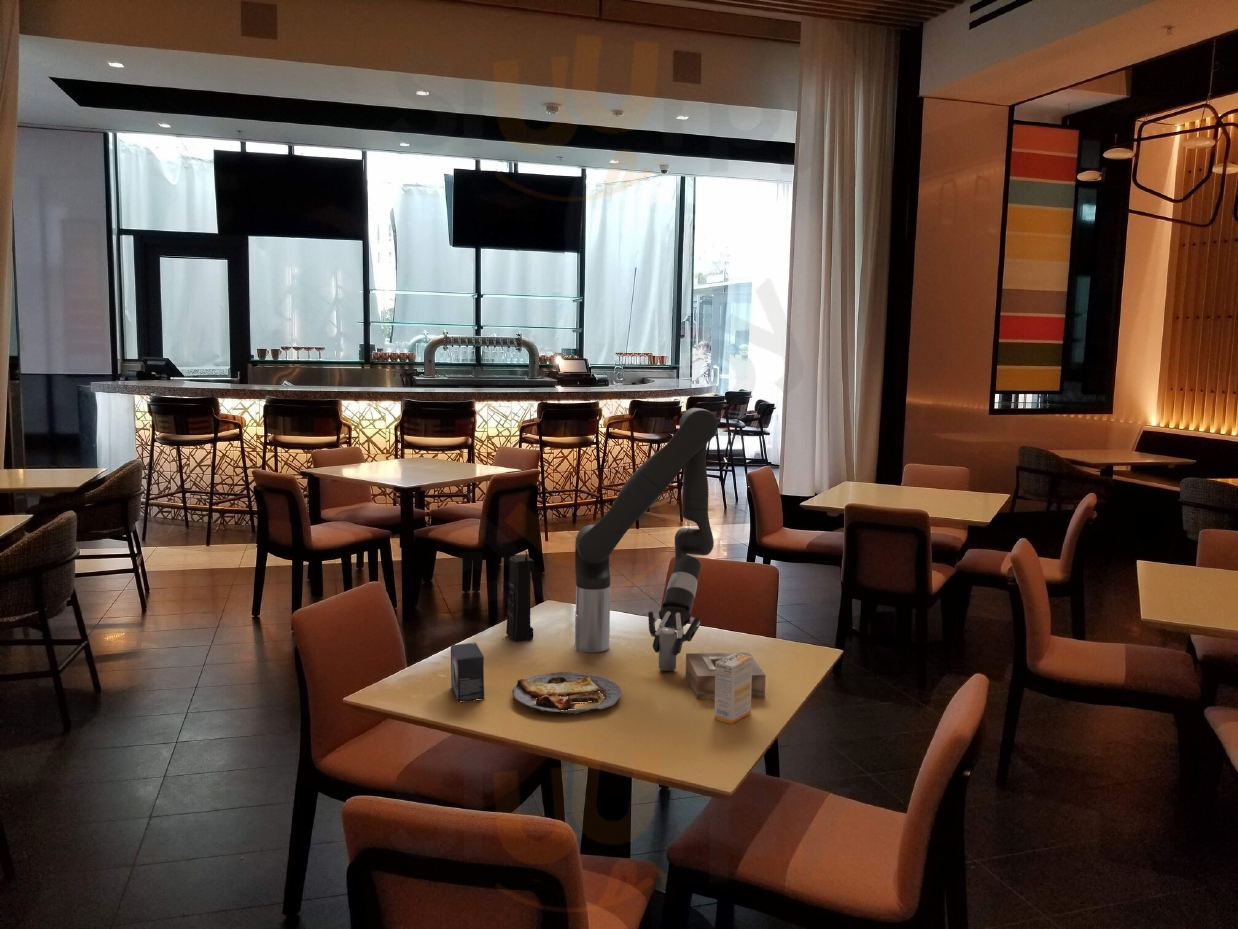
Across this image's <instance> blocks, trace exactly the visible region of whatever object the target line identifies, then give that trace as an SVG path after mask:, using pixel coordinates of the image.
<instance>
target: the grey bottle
mask: <svg viewBox="0 0 1238 929" xmlns="http://www.w3.org/2000/svg"><path fill="white" fill-rule="evenodd" d="M676 638H678V634H677V631H676V630H675V629H674V628H671V627H665V628H662V631H661V632H660V635H659V652H658V669H659V670H661V671H666V672H672V671H675V670H676V669H677V655H674V653H673V650H674V646H675V641H676Z"/></svg>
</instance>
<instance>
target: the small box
mask: <svg viewBox="0 0 1238 929" xmlns="http://www.w3.org/2000/svg"><path fill="white" fill-rule="evenodd" d="M484 660H485V656H484V655H483V653H482V651H481V649H480V647H479V646H478V644H477V642H469V643H461V644H451V645H450V676H451V678H450V681H451V689H452V691H453V694H454V696H455V698H456V700H457V703H458V702H460V701H470V702H475V701H474V700H476V699H484V700H485V676H484V675H485V674H484V671H485V670H484V665H485V664H484V662H485V661H484Z"/></svg>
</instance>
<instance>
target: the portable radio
mask: <svg viewBox="0 0 1238 929" xmlns="http://www.w3.org/2000/svg"><path fill="white" fill-rule="evenodd" d="M534 563H535V560H534V559H532V558H531V557H529V556H528V551H527V550H526V551H525V555H513V556H509V559H508V587H509V588H508V589H509V591H508V592H509V593H508V594H509V597H508V598H507V612H506V620H507V621H506V630H505V634H506V635H507V636H508V637H509V639H511V640H512V641H513V642H514V643H518V642H525V641H530V640H531V641H532V640H533V639H534V628H533V626H531V584H532V583H531V578H532V577H531V573H532V571H534V570H535V568H534V565H535V564H534Z"/></svg>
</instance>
